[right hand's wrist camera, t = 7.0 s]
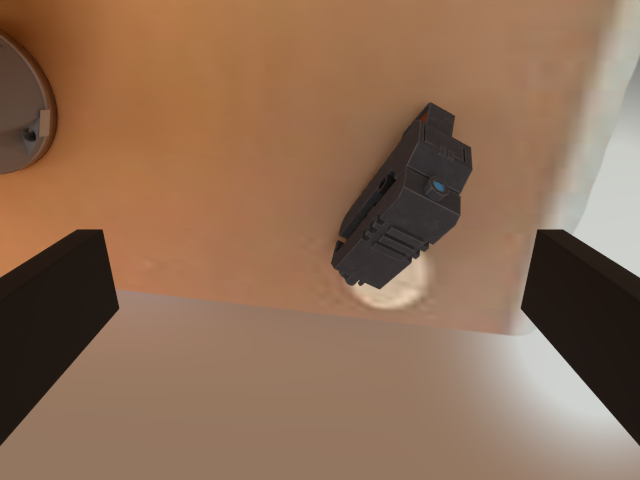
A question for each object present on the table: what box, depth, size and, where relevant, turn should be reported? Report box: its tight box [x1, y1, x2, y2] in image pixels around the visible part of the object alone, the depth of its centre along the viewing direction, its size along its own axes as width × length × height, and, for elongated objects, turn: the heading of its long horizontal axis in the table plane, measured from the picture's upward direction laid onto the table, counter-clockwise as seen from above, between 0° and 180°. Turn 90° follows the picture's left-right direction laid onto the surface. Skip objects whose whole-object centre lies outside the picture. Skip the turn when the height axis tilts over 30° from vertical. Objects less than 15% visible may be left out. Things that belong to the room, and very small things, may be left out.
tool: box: [331, 103, 472, 289], centre depth 42 cm, size 6×19×15 cm, turn 153°
